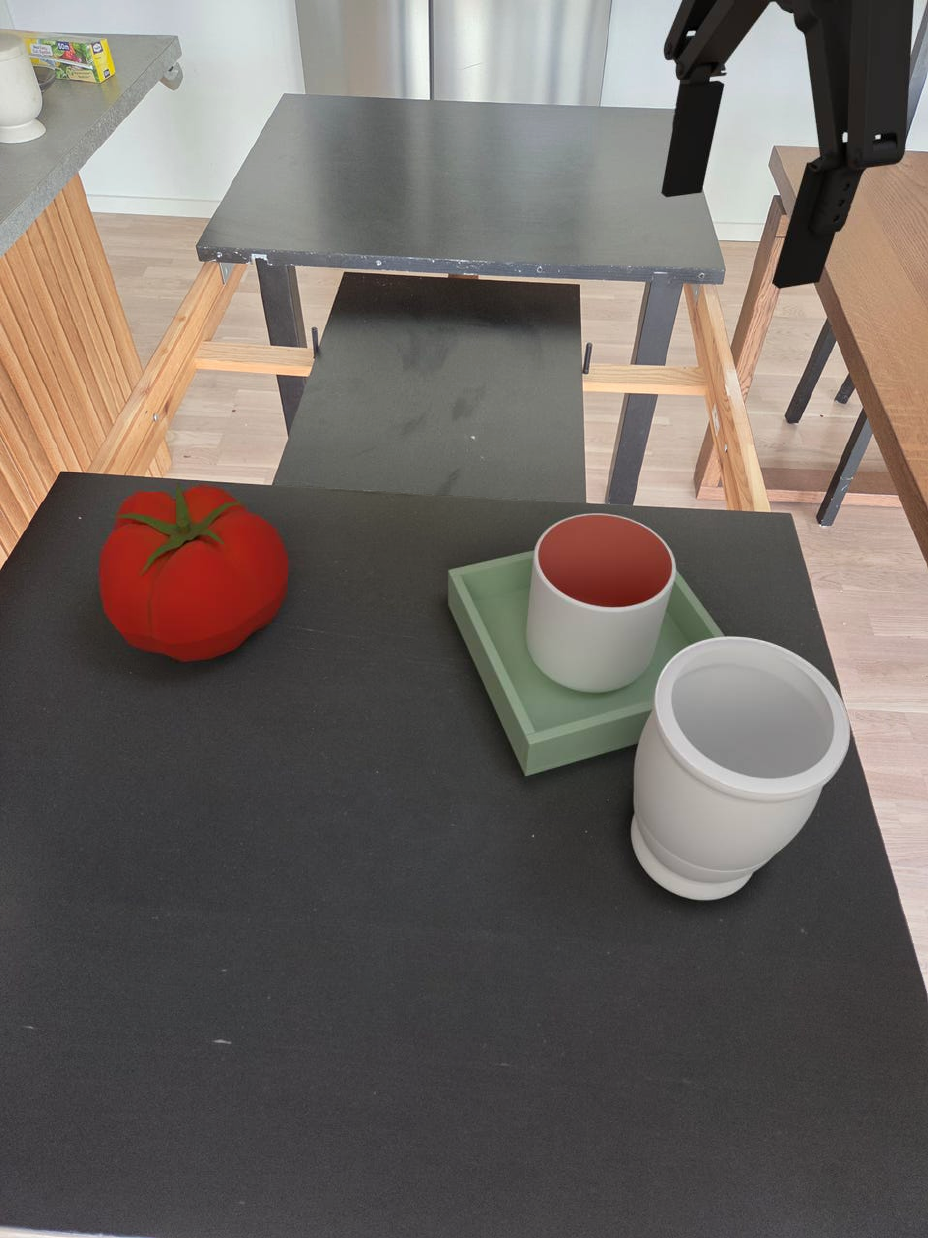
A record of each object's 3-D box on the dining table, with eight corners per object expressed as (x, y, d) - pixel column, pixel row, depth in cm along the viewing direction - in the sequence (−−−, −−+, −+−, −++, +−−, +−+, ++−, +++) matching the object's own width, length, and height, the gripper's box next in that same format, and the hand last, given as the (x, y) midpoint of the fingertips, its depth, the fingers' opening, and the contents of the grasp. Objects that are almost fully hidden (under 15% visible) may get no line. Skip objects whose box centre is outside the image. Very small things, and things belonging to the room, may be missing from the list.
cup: (504, 622, 69) (511, 530, 61) (613, 591, 71) (632, 499, 64) (557, 716, 62) (572, 626, 55) (674, 679, 65) (704, 588, 57)
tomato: (328, 612, 70) (311, 502, 61) (191, 719, 63) (149, 612, 54) (224, 542, 76) (195, 432, 67) (87, 633, 68) (33, 523, 59)
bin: (741, 713, 64) (756, 679, 61) (525, 777, 60) (529, 744, 57) (636, 559, 75) (644, 524, 72) (448, 604, 71) (447, 569, 68)
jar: (642, 752, 61) (685, 611, 50) (786, 808, 58) (866, 672, 47) (592, 876, 55) (628, 746, 44) (751, 947, 52) (833, 827, 41)
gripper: (1152, -231, 30) (913, 319, 46) (770, -260, 46) (689, 157, 62) (984, -230, 29) (795, 340, 44) (647, -261, 45) (596, 168, 60)
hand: (733, 234), depth 53 cm, fingers open, 13 cm apart
